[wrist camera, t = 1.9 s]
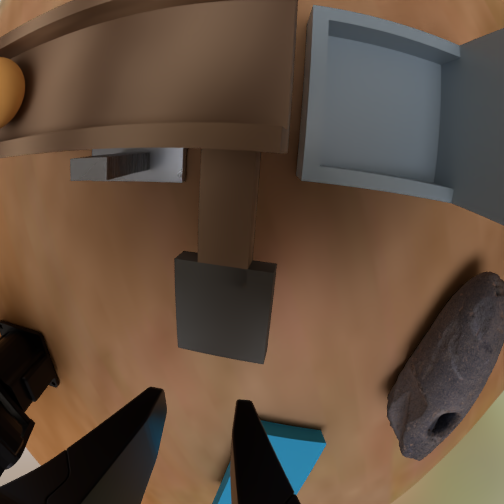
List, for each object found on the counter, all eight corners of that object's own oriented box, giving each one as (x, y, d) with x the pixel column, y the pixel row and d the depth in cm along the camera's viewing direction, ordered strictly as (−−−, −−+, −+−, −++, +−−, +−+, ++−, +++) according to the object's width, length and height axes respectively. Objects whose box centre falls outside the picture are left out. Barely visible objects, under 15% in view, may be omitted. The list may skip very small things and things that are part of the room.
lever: (18, 287, 17) (-20, 310, 13) (12, 54, 12) (-32, 49, 8) (266, 351, 14) (251, 408, 11) (298, -5, 9) (289, -56, 5)
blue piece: (247, 391, 29) (206, 496, 30) (248, 431, 22) (202, 535, 23) (310, 404, 29) (258, 505, 30) (326, 443, 22) (261, 543, 23)
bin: (296, 175, 17) (317, 196, 10) (306, 25, 14) (329, -45, 7) (437, 196, 17) (517, 229, 10) (446, 59, 14) (523, 32, 7)
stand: (98, 179, 18) (40, 195, 12) (112, 21, 14) (63, -10, 9) (185, 181, 18) (148, 197, 12) (199, 10, 14) (173, -37, 9)
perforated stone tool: (454, 248, 18) (513, 291, 12) (496, 269, 19) (550, 310, 12) (361, 405, 23) (379, 469, 17) (407, 411, 24) (429, 467, 17)
